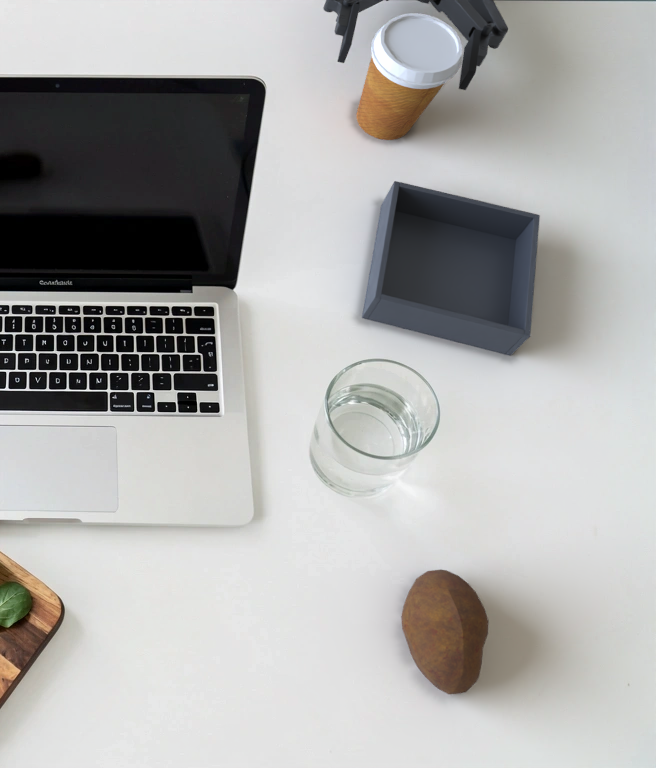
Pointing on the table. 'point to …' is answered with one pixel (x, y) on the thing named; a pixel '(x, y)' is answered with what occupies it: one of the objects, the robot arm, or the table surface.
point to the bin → (453, 268)
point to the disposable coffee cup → (406, 73)
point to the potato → (445, 630)
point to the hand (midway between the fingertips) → (405, 67)
